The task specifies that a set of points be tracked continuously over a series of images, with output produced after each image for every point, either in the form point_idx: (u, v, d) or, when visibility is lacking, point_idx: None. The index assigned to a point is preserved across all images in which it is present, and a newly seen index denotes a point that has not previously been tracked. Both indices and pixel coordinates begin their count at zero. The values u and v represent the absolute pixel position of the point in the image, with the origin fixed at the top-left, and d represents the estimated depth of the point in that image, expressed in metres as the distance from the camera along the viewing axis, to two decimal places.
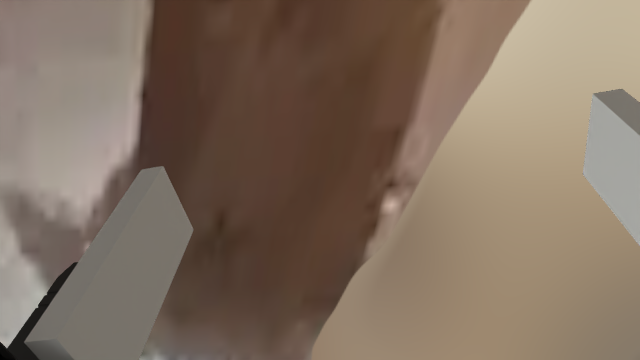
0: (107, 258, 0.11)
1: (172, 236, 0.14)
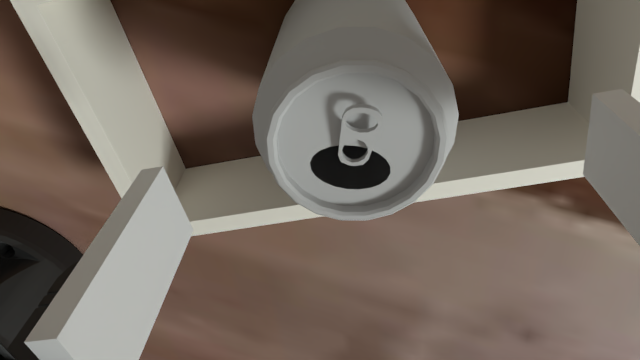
0: (107, 258, 0.11)
1: (172, 236, 0.14)
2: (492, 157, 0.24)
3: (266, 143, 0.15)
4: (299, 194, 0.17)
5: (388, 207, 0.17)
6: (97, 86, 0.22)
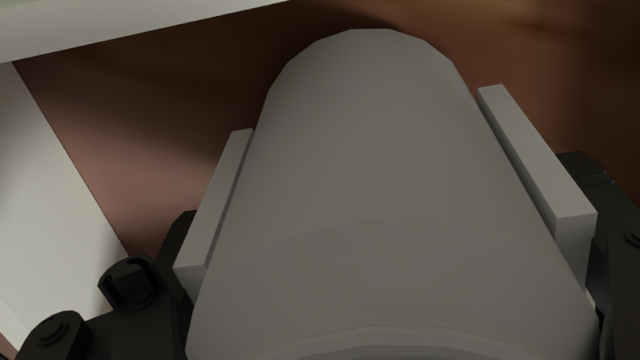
0: (226, 202, 0.12)
1: None
2: None
3: None
4: None
5: None
6: None
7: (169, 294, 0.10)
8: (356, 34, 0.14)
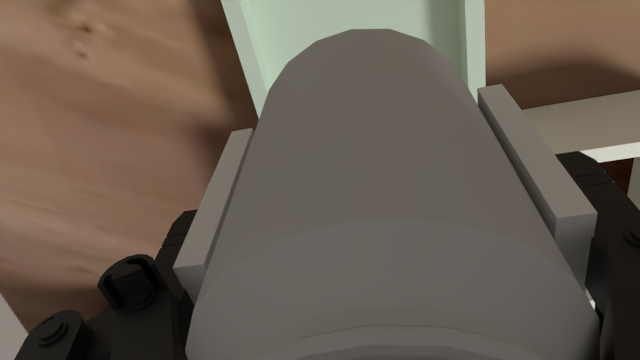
0: (226, 202, 0.12)
1: None
2: None
3: None
4: None
5: None
6: None
7: (169, 294, 0.10)
8: (356, 34, 0.14)
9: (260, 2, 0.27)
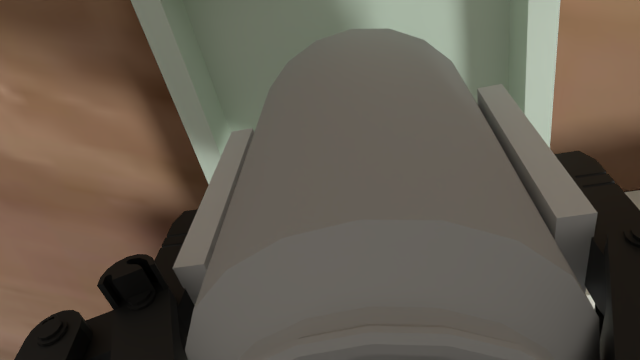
0: (226, 202, 0.12)
1: None
2: None
3: None
4: None
5: None
6: None
7: (169, 294, 0.10)
8: (356, 34, 0.14)
9: (222, 62, 0.19)
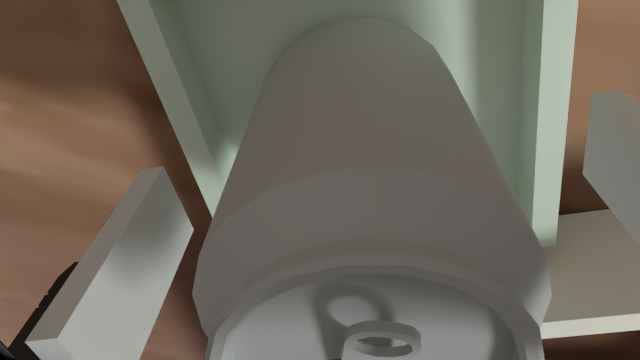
0: (108, 258, 0.11)
1: (172, 236, 0.14)
2: None
3: None
4: None
5: None
6: None
7: None
8: (344, 22, 0.15)
9: (217, 70, 0.18)
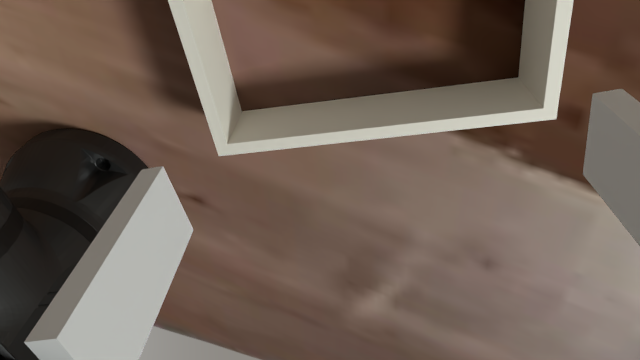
0: (107, 258, 0.11)
1: (172, 236, 0.14)
2: (461, 108, 0.35)
3: None
4: None
5: None
6: (201, 41, 0.33)
7: None
8: None
9: None
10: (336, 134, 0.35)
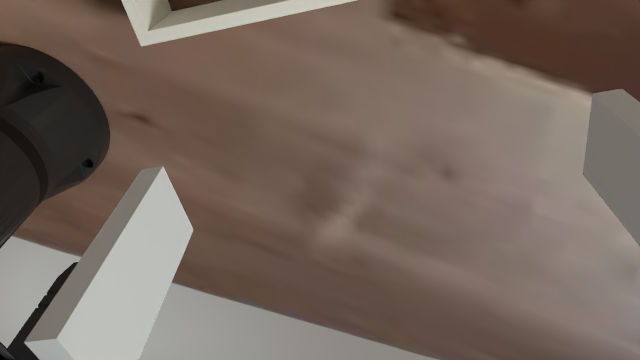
0: (107, 258, 0.11)
1: (172, 236, 0.14)
2: None
3: None
4: None
5: None
6: None
7: None
8: None
9: None
10: (257, 10, 0.34)
